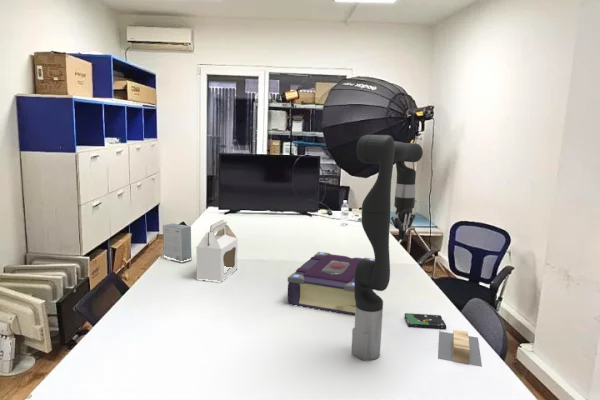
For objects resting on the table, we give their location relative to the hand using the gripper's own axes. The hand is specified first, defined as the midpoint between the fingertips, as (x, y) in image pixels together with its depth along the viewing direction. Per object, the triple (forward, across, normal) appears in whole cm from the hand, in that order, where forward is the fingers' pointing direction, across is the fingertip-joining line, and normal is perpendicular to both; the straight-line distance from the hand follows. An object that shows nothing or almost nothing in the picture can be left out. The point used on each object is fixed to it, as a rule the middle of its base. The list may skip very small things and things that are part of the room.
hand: (402, 239), depth 172 cm
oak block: (+32, +4, -25) cm, 41 cm away
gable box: (+35, -26, +94) cm, 104 cm away
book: (+36, +5, +39) cm, 53 cm away
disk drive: (+36, +9, -7) cm, 38 cm away
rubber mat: (+35, +1, -27) cm, 44 cm away
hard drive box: (+35, -31, +130) cm, 139 cm away
